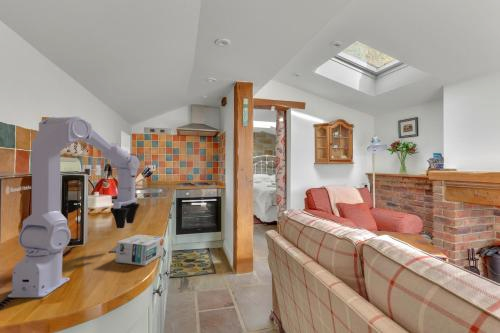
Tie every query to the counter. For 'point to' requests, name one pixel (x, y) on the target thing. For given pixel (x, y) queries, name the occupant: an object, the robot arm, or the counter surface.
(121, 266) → the counter surface
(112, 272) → the counter surface
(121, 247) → the light bulb box
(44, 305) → the counter surface
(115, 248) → the mat
